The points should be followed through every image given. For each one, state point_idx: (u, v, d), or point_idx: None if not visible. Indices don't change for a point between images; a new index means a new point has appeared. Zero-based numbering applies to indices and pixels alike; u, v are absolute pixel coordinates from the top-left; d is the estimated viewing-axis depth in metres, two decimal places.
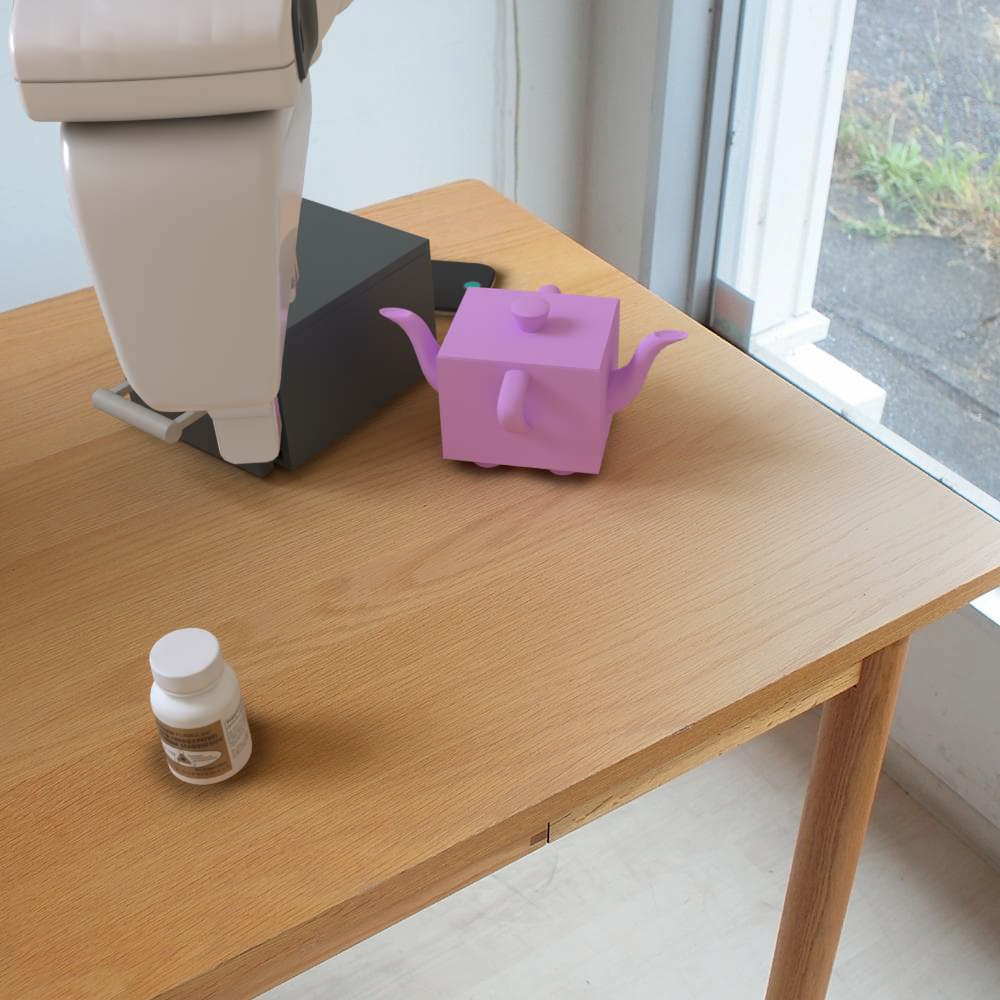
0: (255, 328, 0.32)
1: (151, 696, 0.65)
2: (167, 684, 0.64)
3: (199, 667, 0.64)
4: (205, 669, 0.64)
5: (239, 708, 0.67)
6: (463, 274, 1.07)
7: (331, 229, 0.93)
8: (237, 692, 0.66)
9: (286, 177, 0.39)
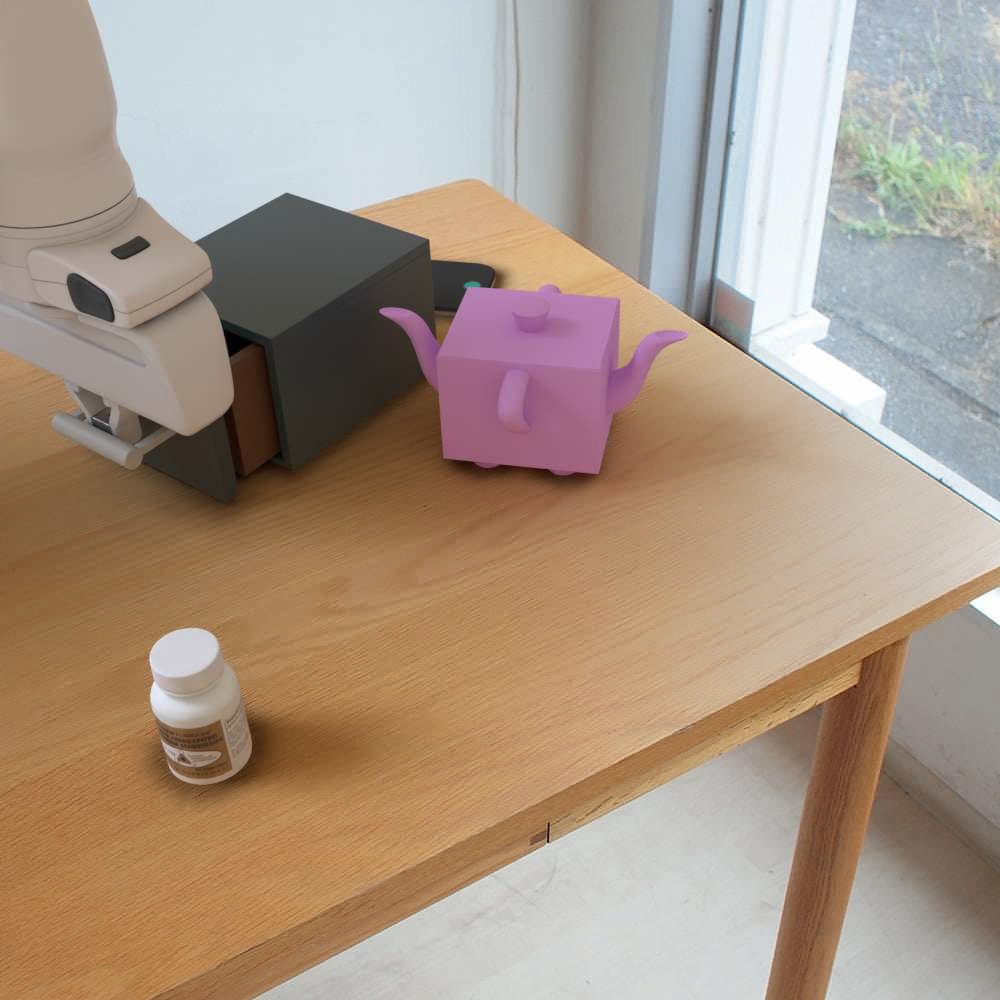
0: (228, 375, 0.75)
1: (151, 696, 0.65)
2: (167, 684, 0.64)
3: (199, 667, 0.64)
4: (205, 669, 0.64)
5: (239, 708, 0.67)
6: (463, 274, 1.07)
7: (331, 229, 0.93)
8: (237, 692, 0.66)
9: None
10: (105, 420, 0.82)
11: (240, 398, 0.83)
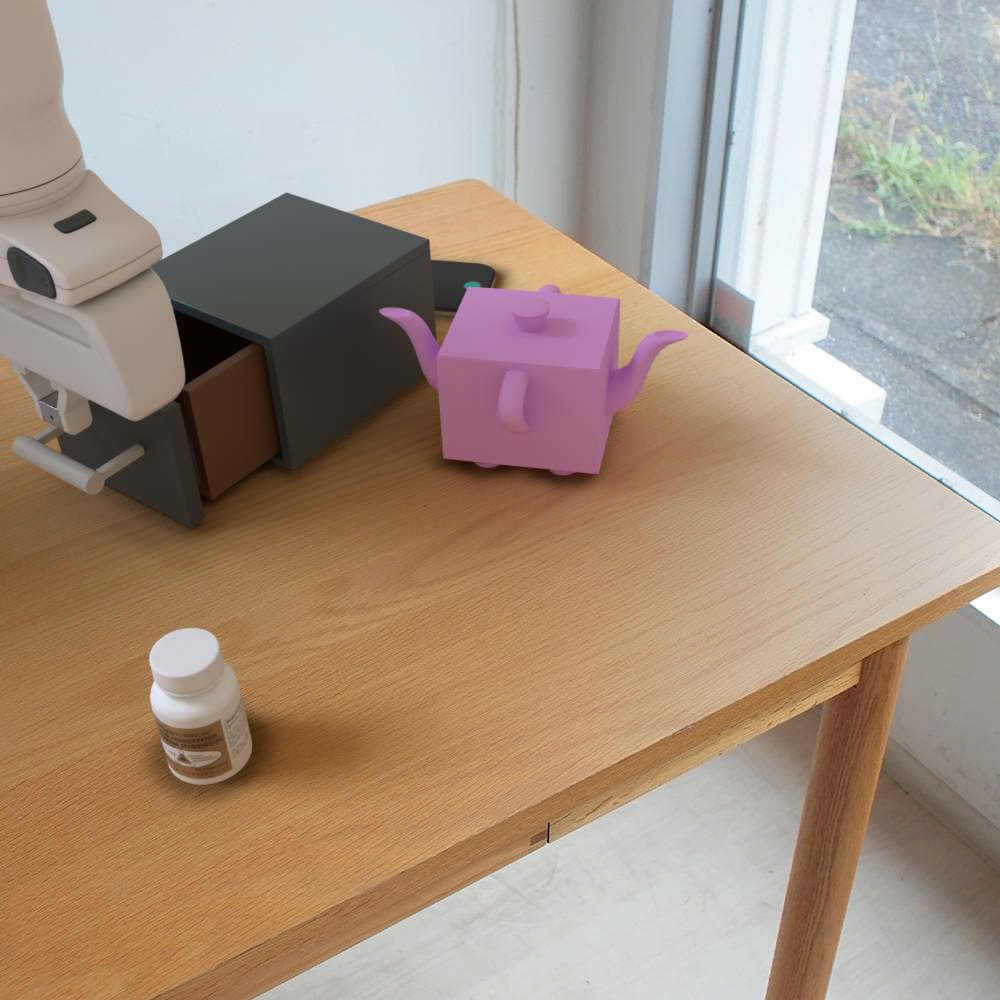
0: (178, 358, 0.71)
1: (151, 696, 0.65)
2: (167, 684, 0.64)
3: (199, 667, 0.64)
4: (205, 669, 0.64)
5: (239, 708, 0.67)
6: (463, 274, 1.07)
7: (331, 229, 0.93)
8: (237, 692, 0.66)
9: None
10: (53, 404, 0.78)
11: (205, 421, 0.81)
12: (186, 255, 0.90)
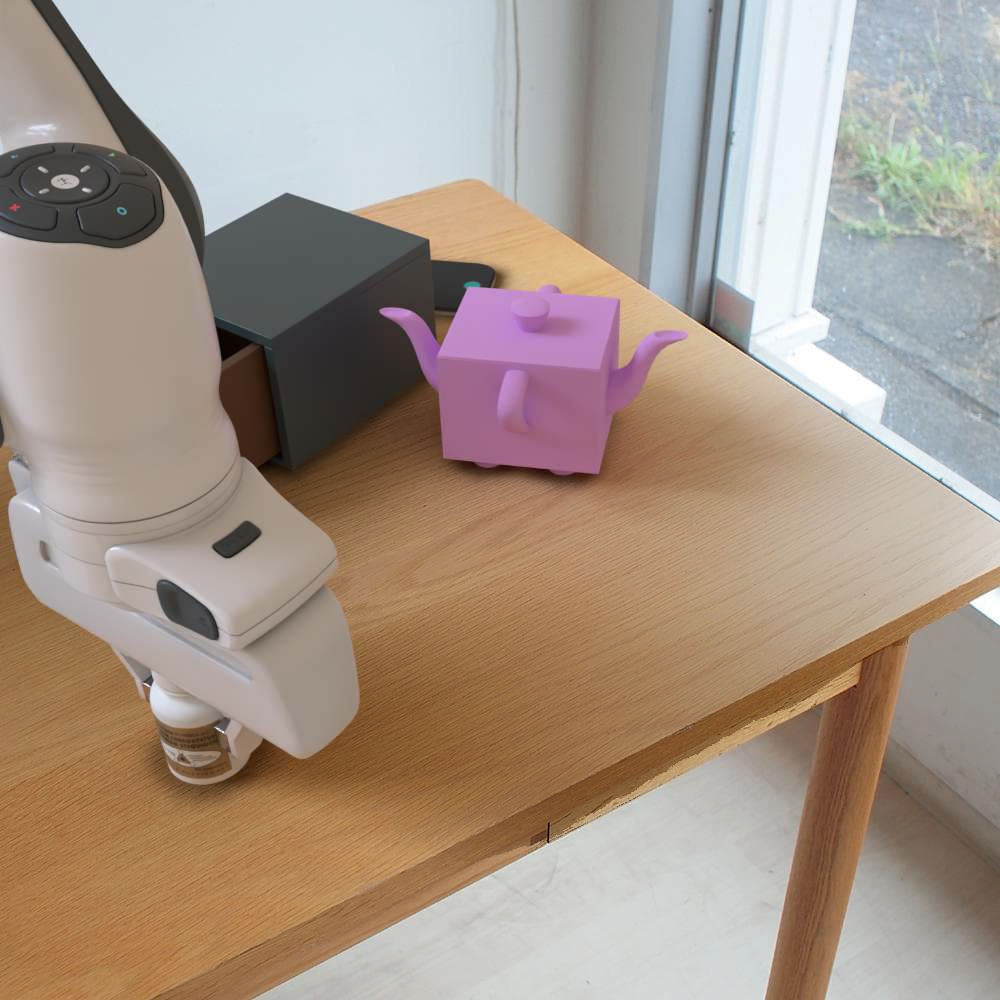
0: (354, 683, 0.59)
1: (150, 696, 0.65)
2: (166, 683, 0.64)
3: None
4: None
5: None
6: (463, 274, 1.07)
7: (331, 229, 0.93)
8: None
9: None
10: (219, 725, 0.65)
11: None
12: None
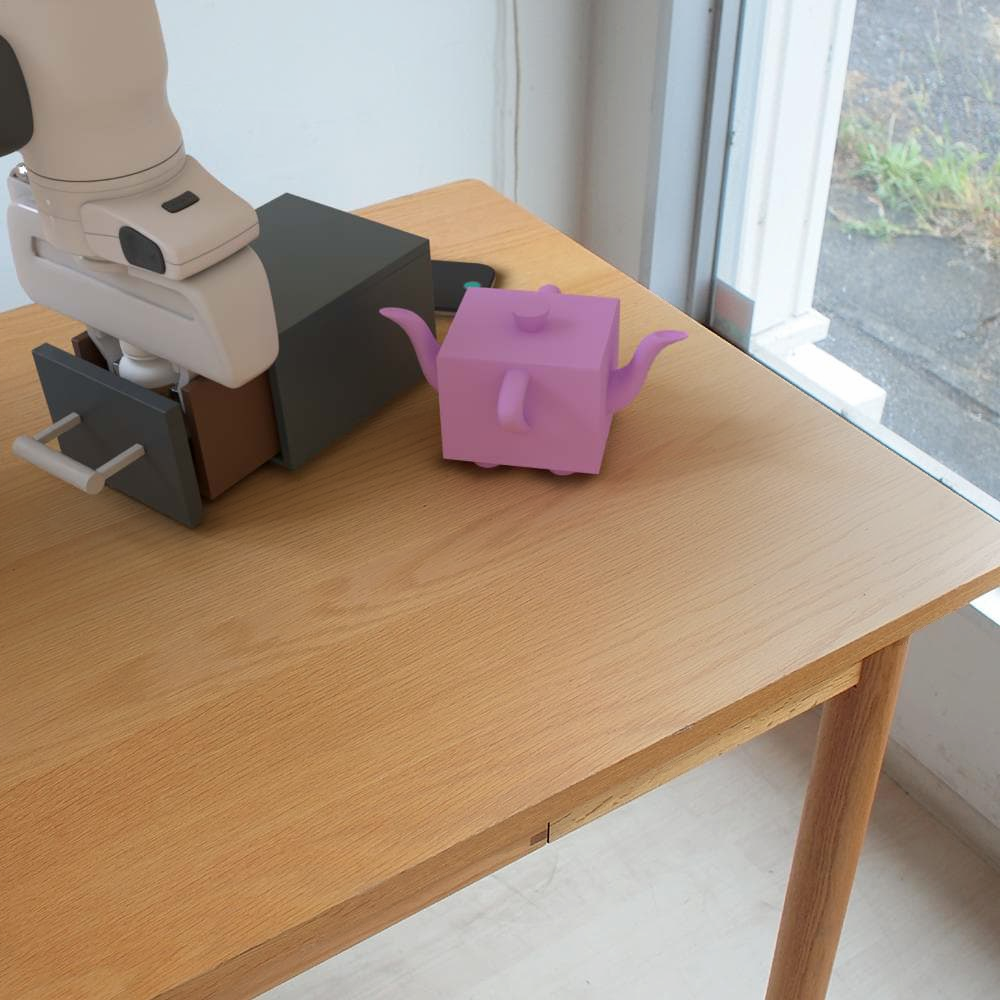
0: (273, 329, 0.77)
1: (119, 366, 0.83)
2: (131, 349, 0.81)
3: None
4: None
5: None
6: (463, 274, 1.07)
7: (331, 229, 0.93)
8: None
9: None
10: (173, 387, 0.82)
11: (205, 421, 0.81)
12: None
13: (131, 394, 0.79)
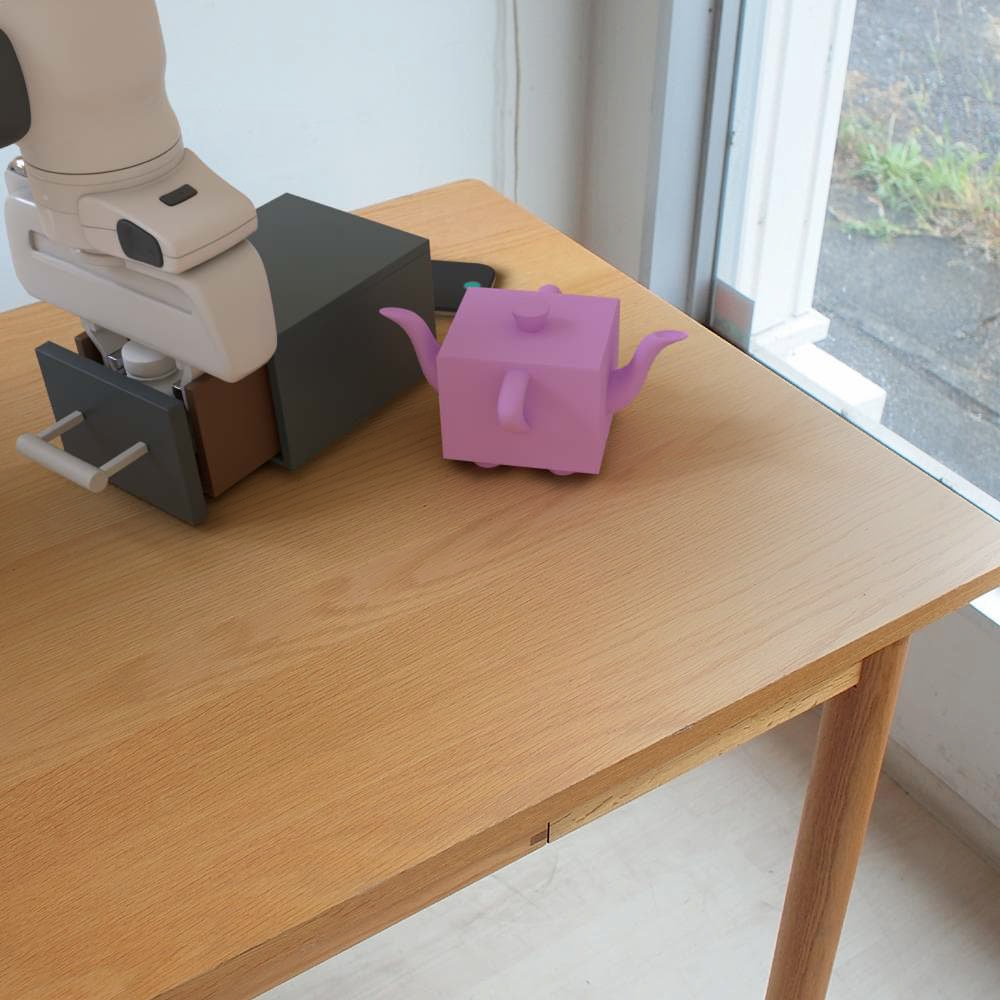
0: (271, 323, 0.76)
1: None
2: (134, 369, 0.82)
3: (160, 356, 0.82)
4: (164, 357, 0.82)
5: None
6: (463, 274, 1.07)
7: (331, 229, 0.93)
8: None
9: None
10: (176, 384, 0.82)
11: (208, 419, 0.81)
12: None
13: (135, 392, 0.79)
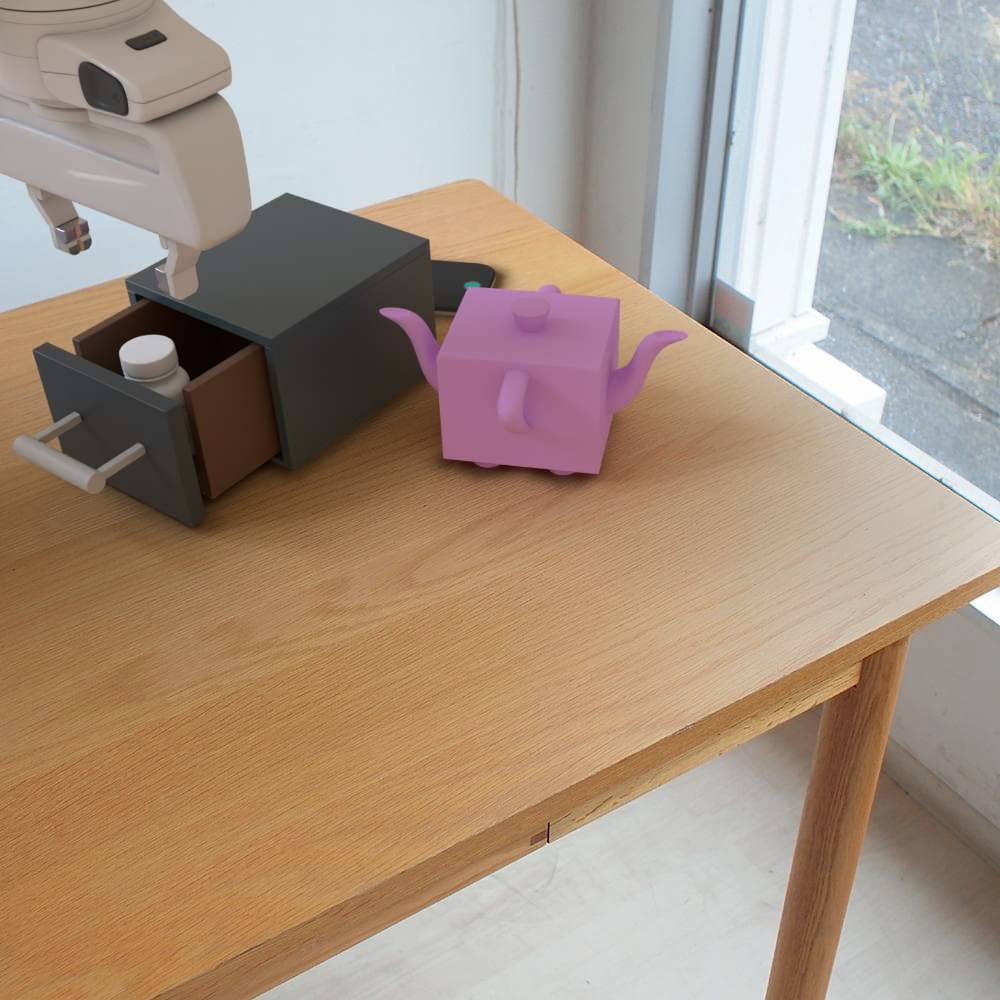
0: (246, 188, 0.71)
1: None
2: (132, 370, 0.82)
3: (158, 357, 0.82)
4: (162, 358, 0.82)
5: None
6: (463, 274, 1.07)
7: (331, 229, 0.93)
8: None
9: None
10: (160, 267, 0.76)
11: (206, 420, 0.81)
12: None
13: (132, 394, 0.79)
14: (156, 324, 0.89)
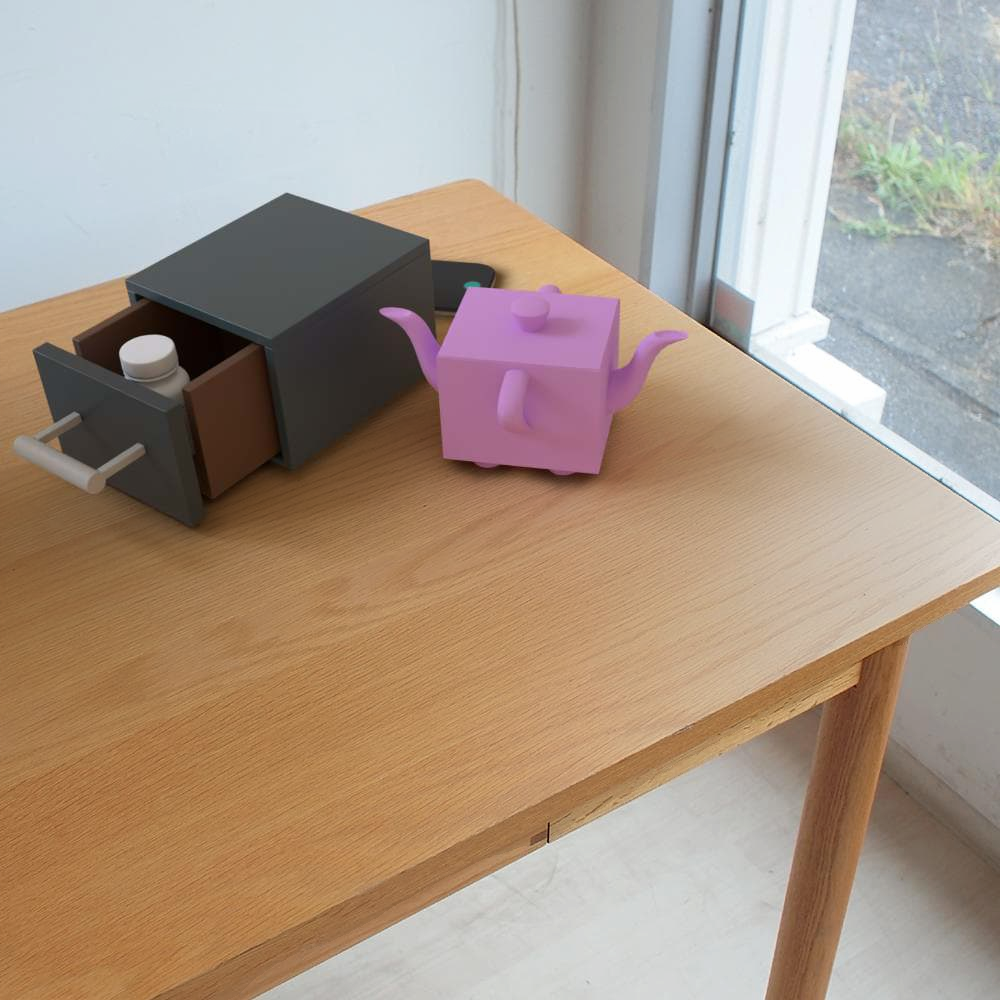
0: None
1: None
2: (132, 370, 0.82)
3: (158, 357, 0.82)
4: (162, 358, 0.82)
5: None
6: (463, 274, 1.07)
7: (331, 229, 0.93)
8: None
9: None
10: None
11: (206, 420, 0.81)
12: (186, 255, 0.90)
13: (132, 394, 0.79)
14: (156, 324, 0.89)
